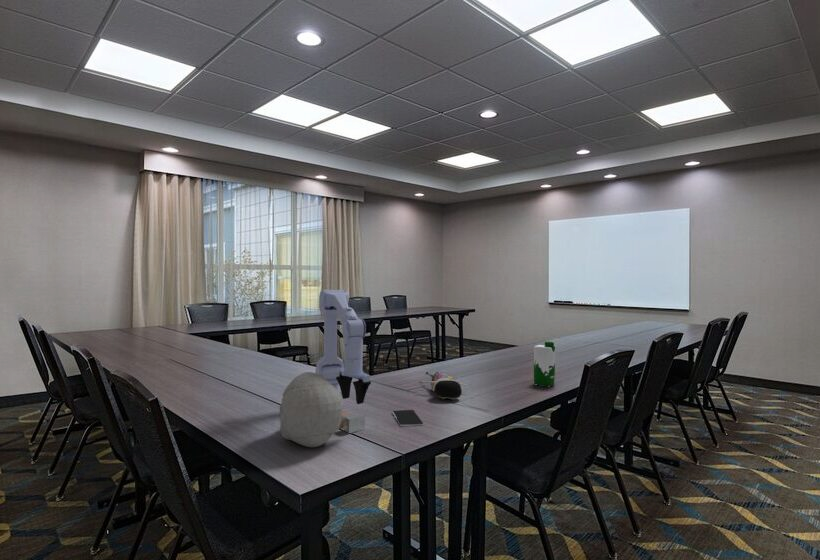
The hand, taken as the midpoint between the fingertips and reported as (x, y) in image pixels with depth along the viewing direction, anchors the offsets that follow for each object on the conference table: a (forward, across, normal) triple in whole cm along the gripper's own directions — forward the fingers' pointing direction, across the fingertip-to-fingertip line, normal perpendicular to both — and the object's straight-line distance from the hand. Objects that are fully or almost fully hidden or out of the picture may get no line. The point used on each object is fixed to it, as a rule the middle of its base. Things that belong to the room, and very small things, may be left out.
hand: (352, 400), depth 137 cm
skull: (+10, -3, -15) cm, 18 cm away
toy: (+10, -12, +57) cm, 59 cm away
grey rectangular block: (+9, 0, 0) cm, 9 cm away
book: (+10, -10, 0) cm, 14 cm away
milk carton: (+10, +9, +102) cm, 103 cm away
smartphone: (+10, +3, +21) cm, 23 cm away
